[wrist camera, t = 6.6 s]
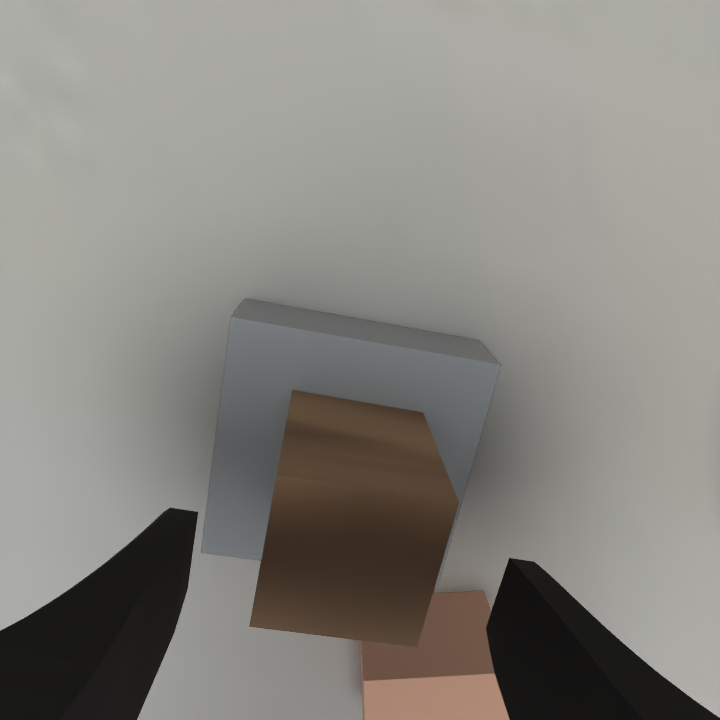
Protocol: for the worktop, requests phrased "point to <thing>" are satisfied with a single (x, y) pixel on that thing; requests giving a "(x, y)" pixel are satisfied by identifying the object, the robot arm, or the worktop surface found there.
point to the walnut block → (354, 523)
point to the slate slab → (335, 379)
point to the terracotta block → (436, 667)
